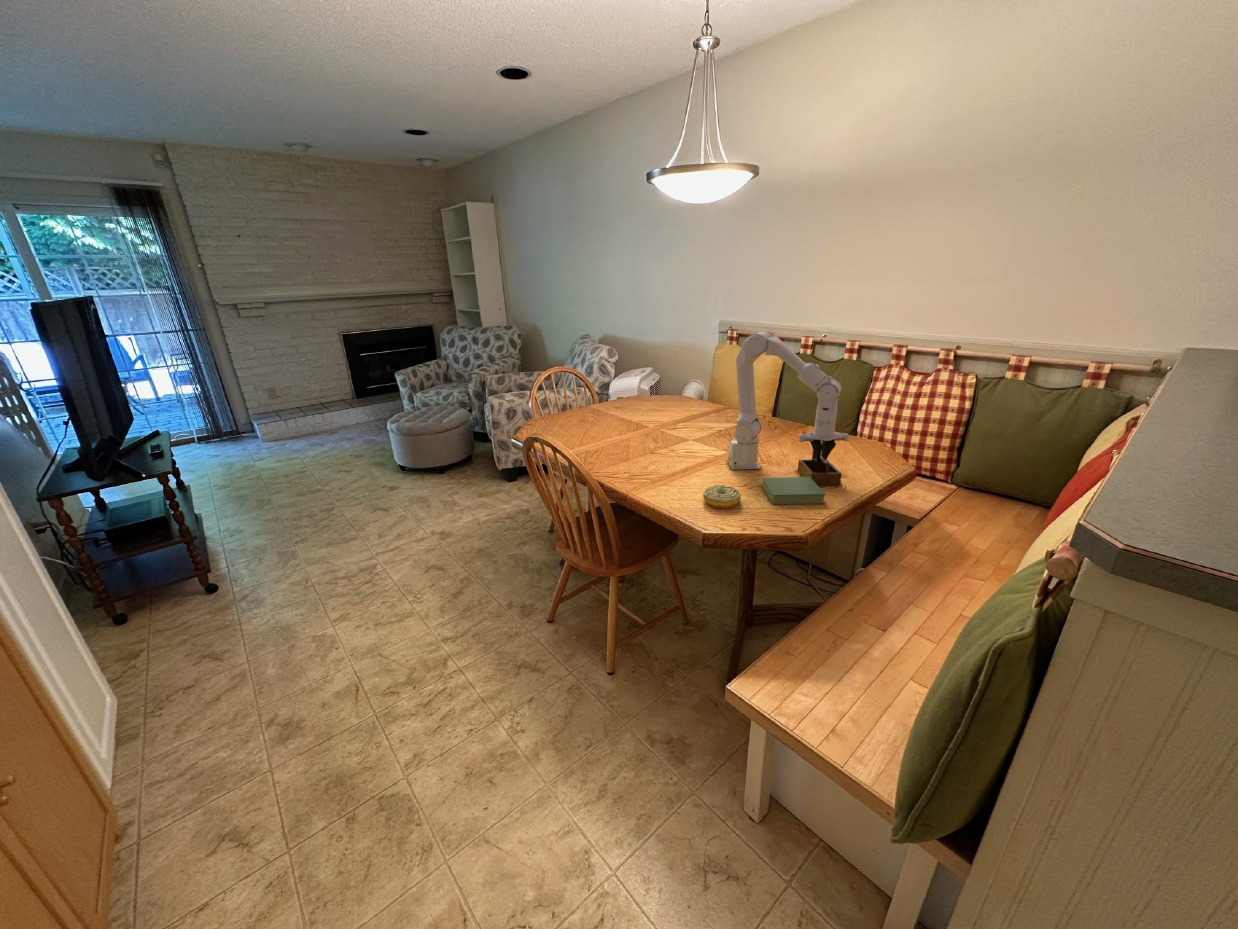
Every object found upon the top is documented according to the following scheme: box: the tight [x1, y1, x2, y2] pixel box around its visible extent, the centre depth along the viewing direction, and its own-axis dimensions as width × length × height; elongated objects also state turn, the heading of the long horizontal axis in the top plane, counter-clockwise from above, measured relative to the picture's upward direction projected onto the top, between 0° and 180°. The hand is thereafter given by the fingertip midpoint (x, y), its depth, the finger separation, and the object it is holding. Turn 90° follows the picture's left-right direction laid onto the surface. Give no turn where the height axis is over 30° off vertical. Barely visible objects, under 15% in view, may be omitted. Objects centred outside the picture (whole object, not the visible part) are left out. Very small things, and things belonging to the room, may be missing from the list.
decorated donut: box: [702, 484, 742, 509], centre depth 136 cm, size 10×11×4 cm
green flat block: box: [761, 476, 826, 505], centre depth 140 cm, size 14×12×3 cm
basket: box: [797, 450, 843, 487], centre depth 150 cm, size 9×12×7 cm
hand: (819, 462), depth 149 cm, fingers closed on basket
